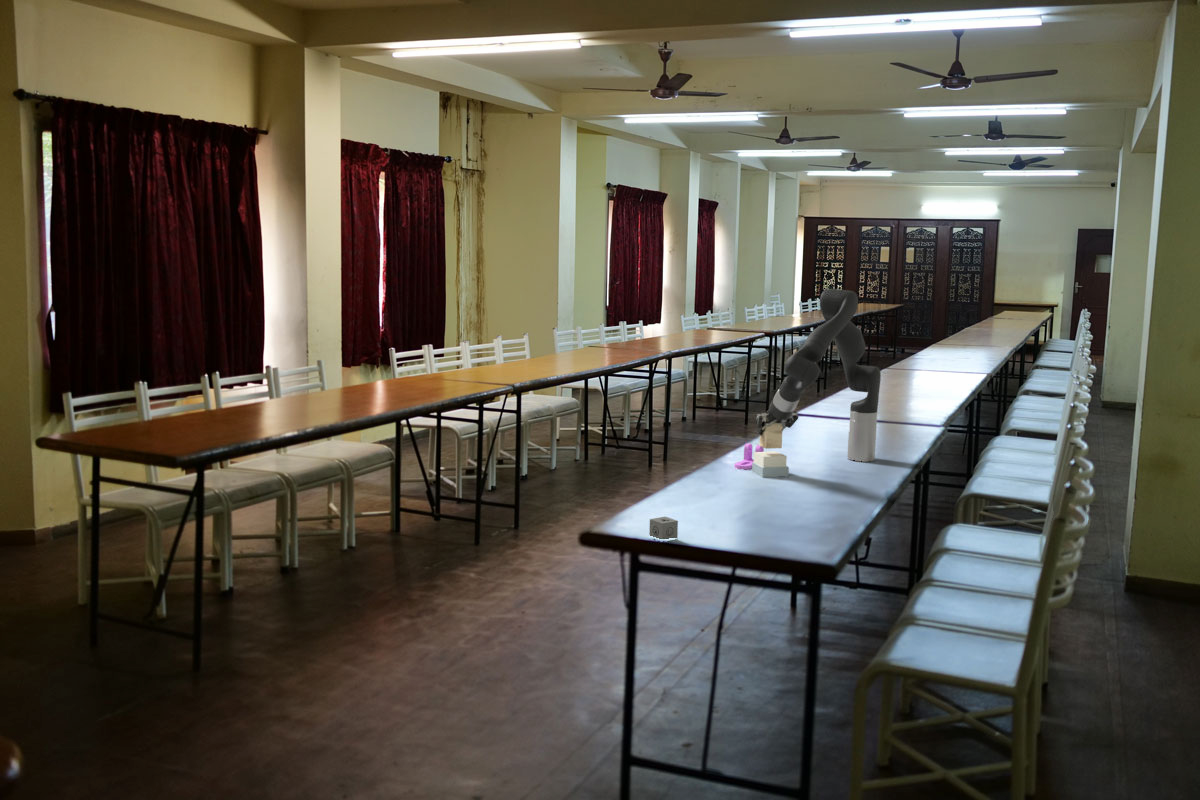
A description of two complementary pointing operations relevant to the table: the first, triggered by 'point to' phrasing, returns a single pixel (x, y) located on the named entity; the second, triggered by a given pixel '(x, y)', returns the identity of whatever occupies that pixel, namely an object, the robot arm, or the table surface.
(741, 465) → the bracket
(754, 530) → the table surface
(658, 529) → the dice cube
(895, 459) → the table surface
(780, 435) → the maple pillar
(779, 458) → the tower top
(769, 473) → the tower base
